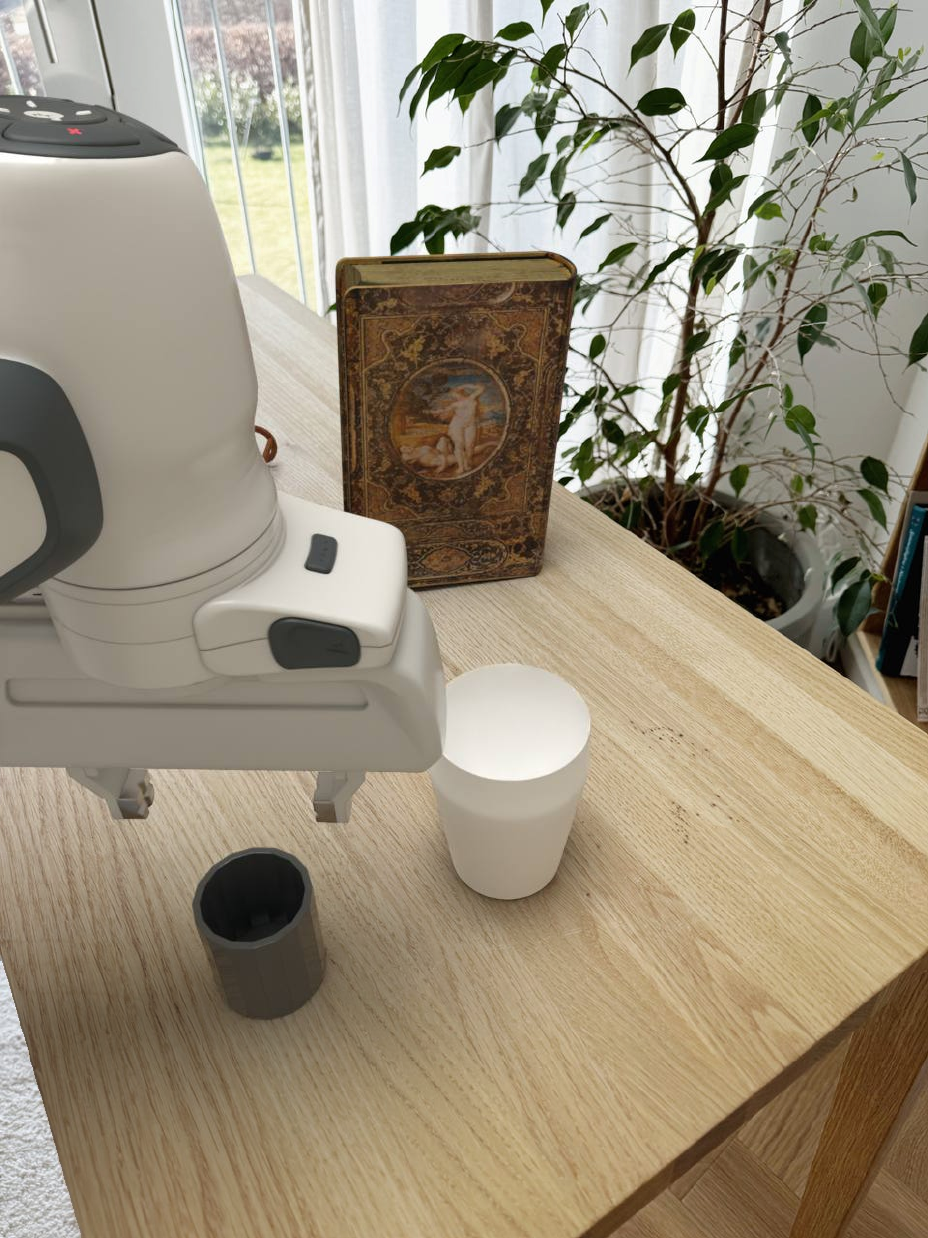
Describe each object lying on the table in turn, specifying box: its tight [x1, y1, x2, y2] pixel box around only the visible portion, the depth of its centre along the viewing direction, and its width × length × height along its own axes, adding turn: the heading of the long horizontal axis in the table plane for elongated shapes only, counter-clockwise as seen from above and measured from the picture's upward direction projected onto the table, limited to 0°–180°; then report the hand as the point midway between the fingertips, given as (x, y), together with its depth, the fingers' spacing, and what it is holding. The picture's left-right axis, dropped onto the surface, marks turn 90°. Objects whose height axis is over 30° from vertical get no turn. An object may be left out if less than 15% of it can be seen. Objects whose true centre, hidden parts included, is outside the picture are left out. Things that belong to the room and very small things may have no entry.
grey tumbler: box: [191, 846, 327, 1021], centre depth 52 cm, size 6×6×7 cm
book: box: [334, 250, 578, 589], centre depth 74 cm, size 16×6×25 cm, turn 102°
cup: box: [427, 663, 591, 900], centre depth 56 cm, size 9×9×12 cm
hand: (235, 810), depth 45 cm, fingers open, 8 cm apart
